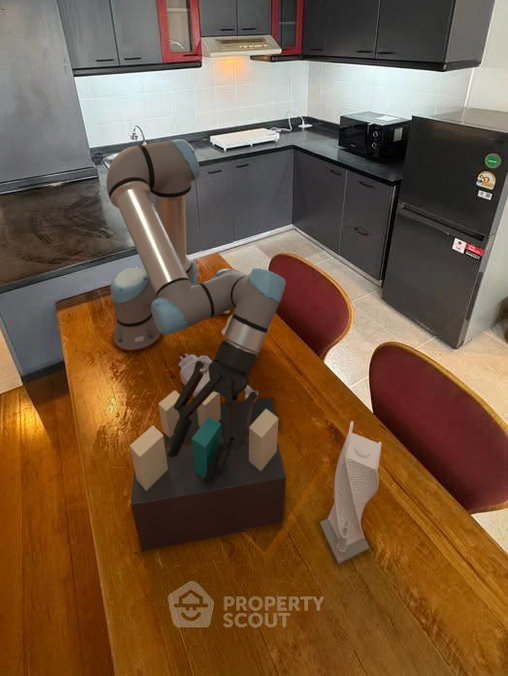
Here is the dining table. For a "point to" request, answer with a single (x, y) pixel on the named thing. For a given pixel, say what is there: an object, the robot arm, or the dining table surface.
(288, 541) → the dining table surface
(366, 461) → the skyscraper
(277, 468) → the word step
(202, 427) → the upright teal pillar
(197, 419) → the dark grey block
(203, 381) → the charger
